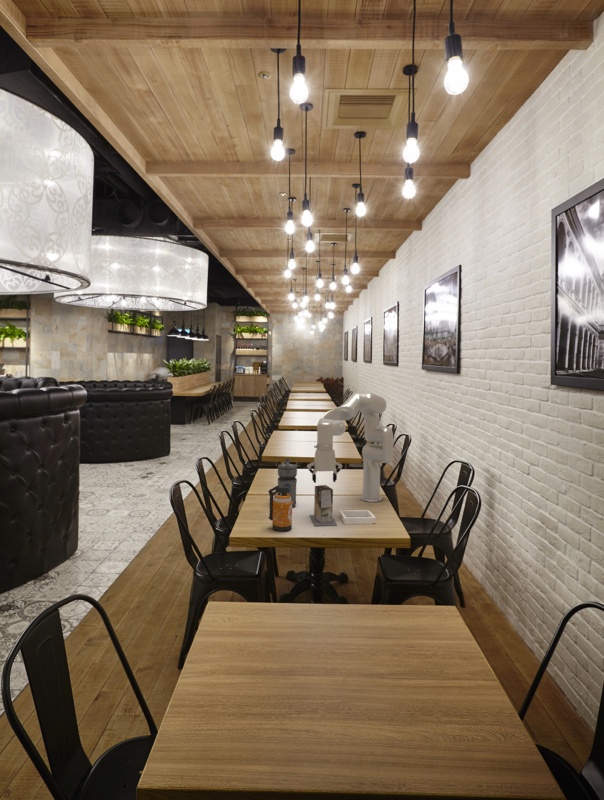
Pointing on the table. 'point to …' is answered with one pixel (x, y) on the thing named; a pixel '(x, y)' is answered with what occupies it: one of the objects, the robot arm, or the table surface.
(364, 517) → the holder
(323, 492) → the coffee box
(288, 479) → the beverage bottle
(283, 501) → the canister
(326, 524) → the mat
